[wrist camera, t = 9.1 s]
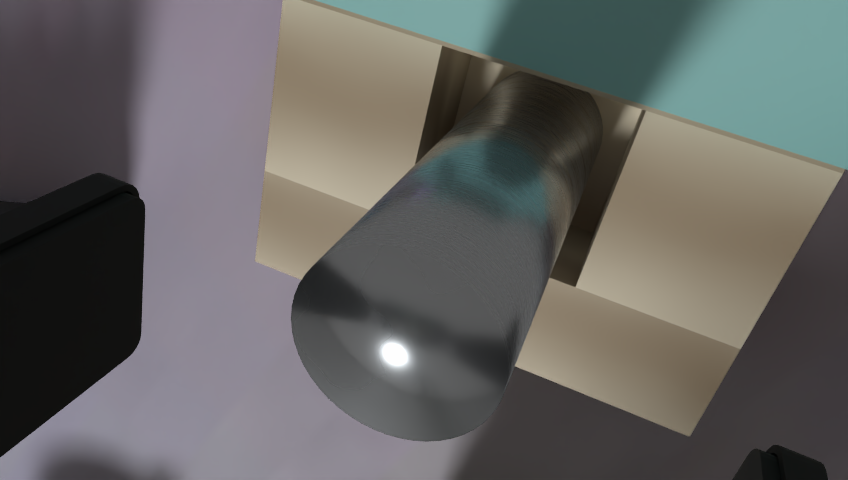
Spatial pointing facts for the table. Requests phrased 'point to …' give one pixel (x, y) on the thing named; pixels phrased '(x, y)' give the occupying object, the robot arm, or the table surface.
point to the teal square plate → (669, 56)
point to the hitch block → (592, 222)
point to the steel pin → (450, 266)
